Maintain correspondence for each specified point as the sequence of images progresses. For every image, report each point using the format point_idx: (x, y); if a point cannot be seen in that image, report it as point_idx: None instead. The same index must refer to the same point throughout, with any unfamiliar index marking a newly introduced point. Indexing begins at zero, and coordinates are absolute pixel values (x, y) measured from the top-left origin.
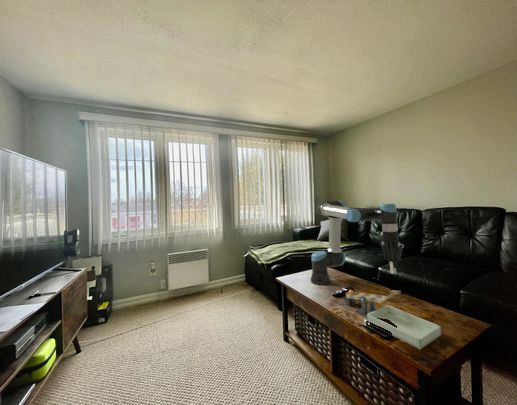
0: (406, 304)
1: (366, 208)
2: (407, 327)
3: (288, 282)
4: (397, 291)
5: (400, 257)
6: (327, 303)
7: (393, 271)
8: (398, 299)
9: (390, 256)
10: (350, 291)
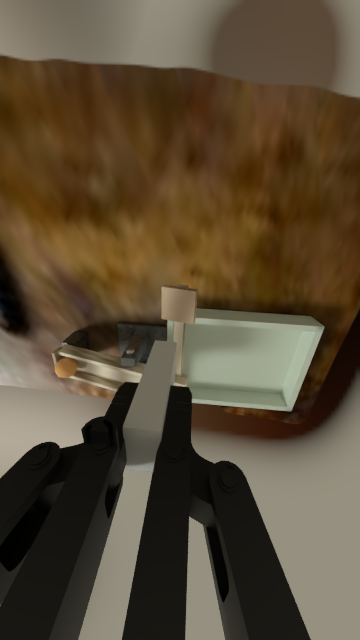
0: (177, 187)
1: None
2: (243, 351)
3: None
4: (188, 305)
5: (274, 572)
6: (51, 379)
7: (173, 384)
8: (133, 161)
9: (95, 551)
10: (66, 377)
